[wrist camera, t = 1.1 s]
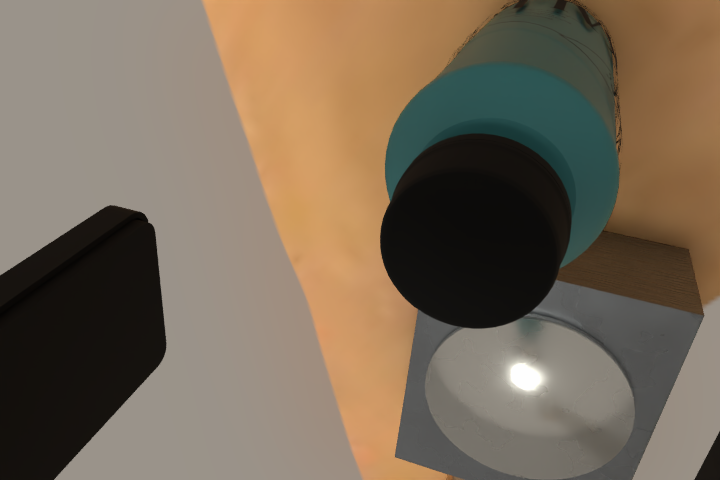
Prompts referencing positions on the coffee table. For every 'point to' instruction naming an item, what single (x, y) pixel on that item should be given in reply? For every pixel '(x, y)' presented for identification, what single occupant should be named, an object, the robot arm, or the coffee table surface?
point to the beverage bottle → (503, 166)
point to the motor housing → (557, 372)
